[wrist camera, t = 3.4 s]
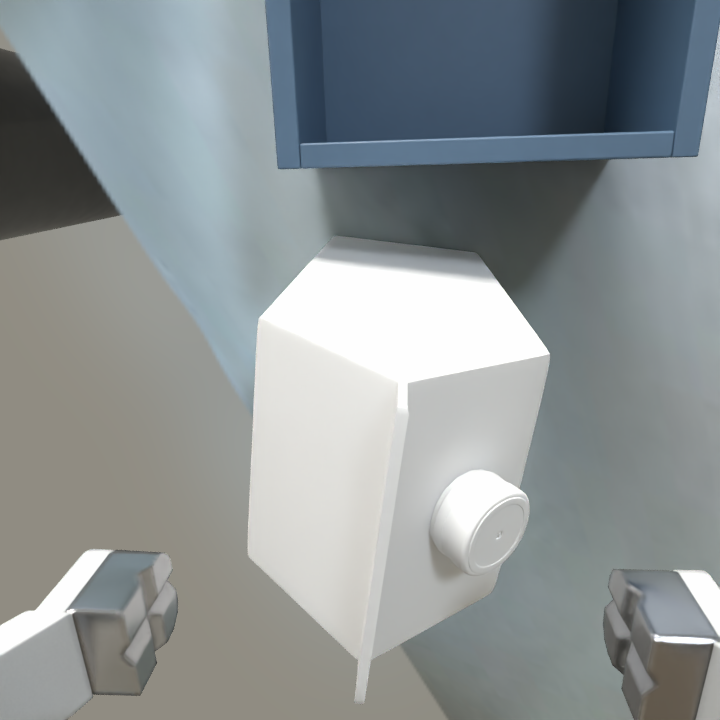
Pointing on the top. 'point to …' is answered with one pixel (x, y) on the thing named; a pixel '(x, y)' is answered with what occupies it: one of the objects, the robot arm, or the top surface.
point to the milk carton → (390, 439)
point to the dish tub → (487, 80)
